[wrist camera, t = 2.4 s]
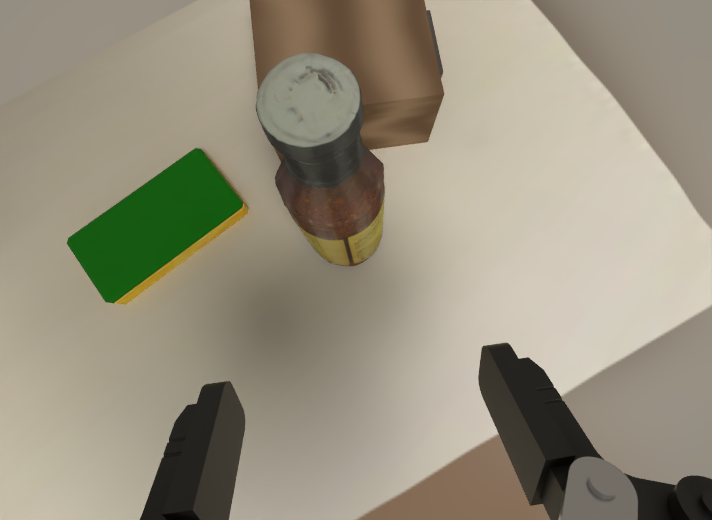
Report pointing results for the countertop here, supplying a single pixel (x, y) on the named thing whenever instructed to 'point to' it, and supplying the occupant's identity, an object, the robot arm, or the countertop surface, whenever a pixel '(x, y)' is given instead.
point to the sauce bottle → (324, 156)
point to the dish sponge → (156, 227)
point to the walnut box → (362, 57)
